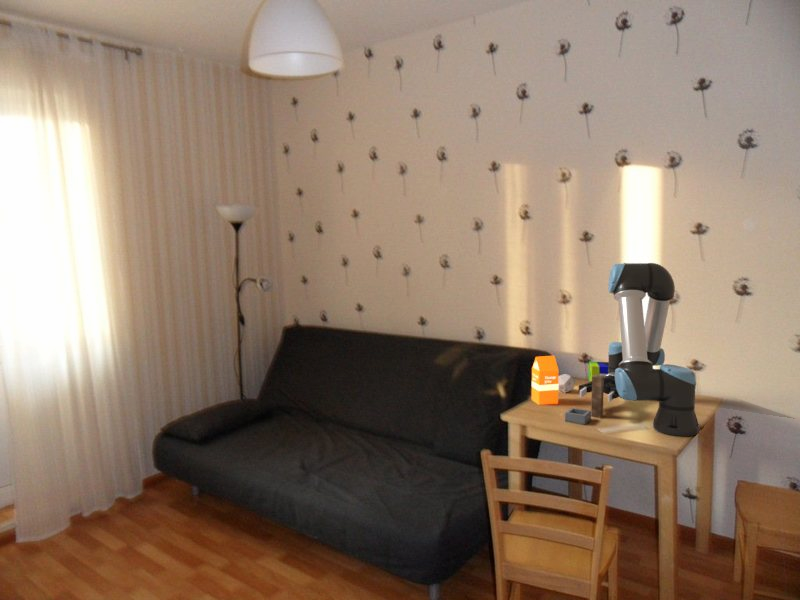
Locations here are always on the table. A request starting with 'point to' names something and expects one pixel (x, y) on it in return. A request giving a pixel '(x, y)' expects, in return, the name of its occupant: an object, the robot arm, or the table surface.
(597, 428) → the table surface
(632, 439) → the table surface
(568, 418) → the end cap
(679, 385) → the robot arm
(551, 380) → the orange juice
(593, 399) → the brown rectangular block
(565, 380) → the crumpled paper ball
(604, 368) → the puzzle toy
